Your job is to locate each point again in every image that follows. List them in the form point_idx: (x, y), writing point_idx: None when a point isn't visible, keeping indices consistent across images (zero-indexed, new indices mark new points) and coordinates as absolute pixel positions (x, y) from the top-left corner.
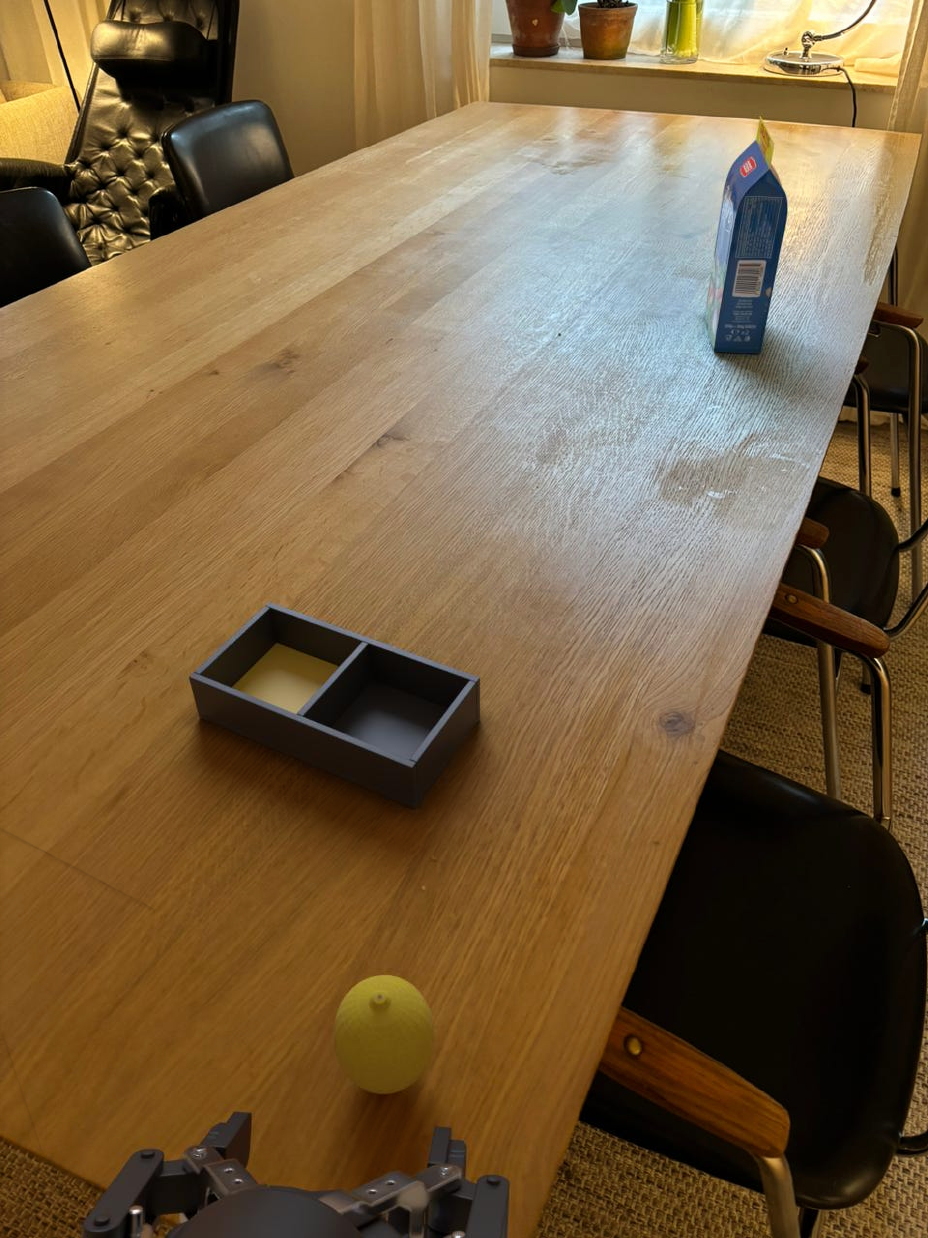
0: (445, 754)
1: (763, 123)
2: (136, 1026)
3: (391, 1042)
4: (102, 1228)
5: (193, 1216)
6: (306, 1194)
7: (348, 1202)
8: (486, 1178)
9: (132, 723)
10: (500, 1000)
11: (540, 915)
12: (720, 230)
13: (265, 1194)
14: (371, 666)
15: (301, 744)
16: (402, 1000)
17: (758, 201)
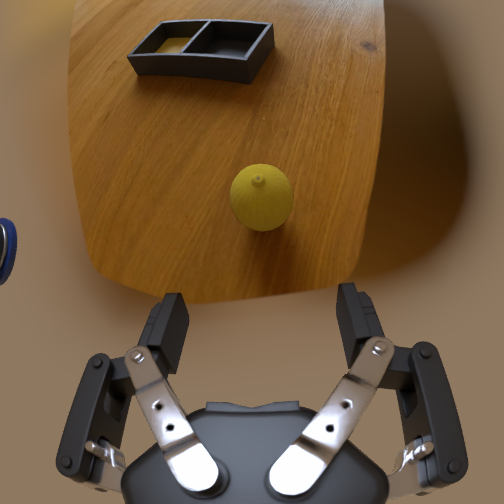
0: (261, 58)
1: None
2: (129, 215)
3: (270, 205)
4: (68, 472)
5: None
6: (248, 418)
7: (311, 469)
8: (417, 348)
9: (110, 87)
10: (319, 170)
11: (330, 125)
12: None
13: None
14: (214, 32)
15: (184, 67)
16: (273, 178)
17: None
